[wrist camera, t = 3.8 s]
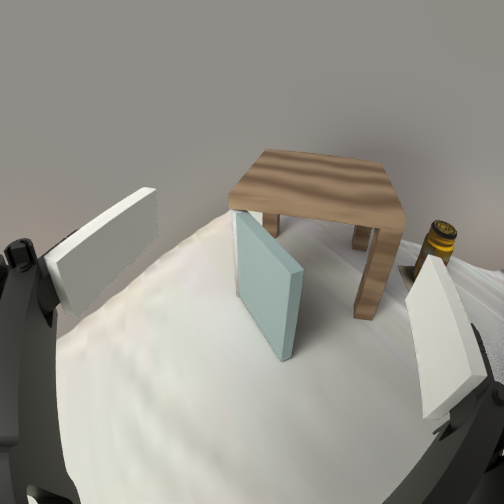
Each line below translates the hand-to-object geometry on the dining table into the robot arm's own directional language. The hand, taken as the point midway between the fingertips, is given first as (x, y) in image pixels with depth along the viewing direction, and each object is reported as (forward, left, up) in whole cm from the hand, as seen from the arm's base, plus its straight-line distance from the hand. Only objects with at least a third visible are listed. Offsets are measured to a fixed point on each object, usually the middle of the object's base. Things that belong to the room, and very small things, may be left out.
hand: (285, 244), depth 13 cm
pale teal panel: (-4, -16, -25) cm, 30 cm away
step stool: (-16, -26, -25) cm, 40 cm away
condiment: (-36, -16, -26) cm, 47 cm away
